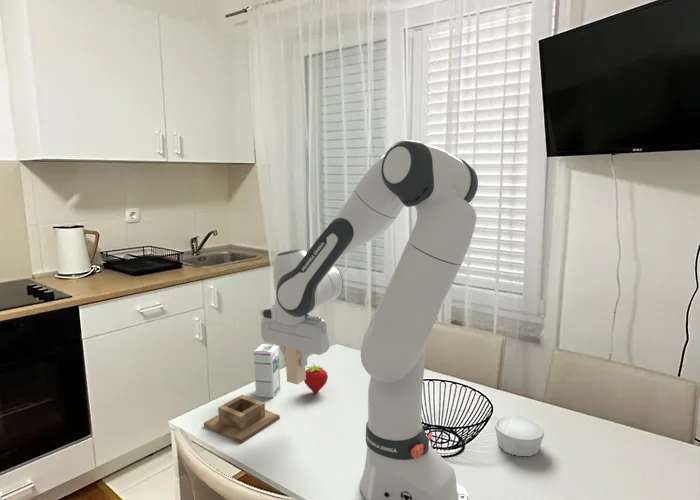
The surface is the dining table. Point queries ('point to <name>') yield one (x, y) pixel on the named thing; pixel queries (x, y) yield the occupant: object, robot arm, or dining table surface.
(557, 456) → the dining table surface
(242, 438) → the wooden peg socket base
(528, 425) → the ramekin
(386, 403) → the robot arm
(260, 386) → the syrup box
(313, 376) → the strawberry
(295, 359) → the peach rectangular block
